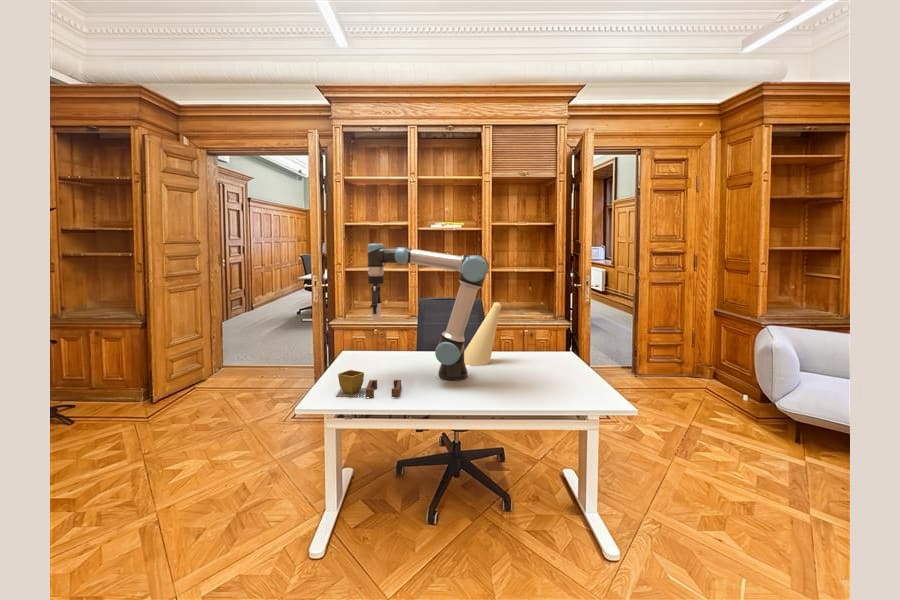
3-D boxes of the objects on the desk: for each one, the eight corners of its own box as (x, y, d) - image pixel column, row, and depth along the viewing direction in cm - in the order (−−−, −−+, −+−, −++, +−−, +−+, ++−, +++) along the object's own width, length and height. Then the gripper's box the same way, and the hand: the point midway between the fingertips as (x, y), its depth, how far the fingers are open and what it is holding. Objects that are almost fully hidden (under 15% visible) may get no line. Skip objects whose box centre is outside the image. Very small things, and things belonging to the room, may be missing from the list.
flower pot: (365, 391, 232) (364, 372, 230) (352, 396, 224) (352, 376, 223) (350, 388, 236) (350, 369, 235) (337, 393, 228) (337, 373, 227)
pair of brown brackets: (401, 387, 238) (401, 379, 238) (399, 397, 224) (399, 389, 223) (369, 388, 238) (369, 380, 237) (365, 398, 223) (365, 389, 222)
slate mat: (366, 389, 236) (366, 388, 236) (362, 397, 224) (362, 396, 224) (340, 389, 236) (340, 388, 236) (335, 397, 224) (335, 396, 224)
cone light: (455, 365, 280) (455, 303, 276) (460, 357, 298) (460, 299, 294) (499, 367, 276) (499, 304, 272) (501, 359, 294) (502, 300, 289)
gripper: (370, 273, 256) (371, 314, 258) (364, 277, 231) (365, 322, 234) (385, 273, 256) (386, 314, 259) (381, 277, 231) (381, 322, 234)
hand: (376, 318), depth 246 cm, fingers open, 13 cm apart
